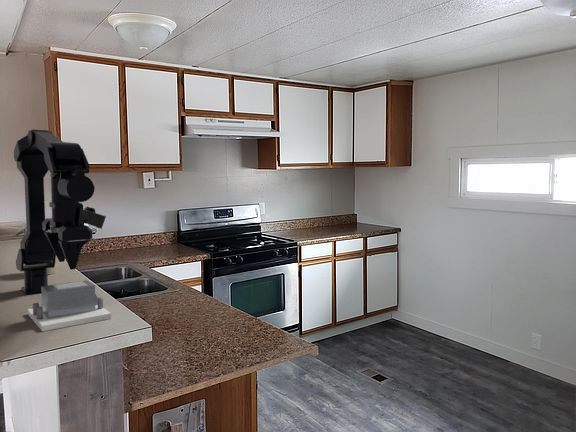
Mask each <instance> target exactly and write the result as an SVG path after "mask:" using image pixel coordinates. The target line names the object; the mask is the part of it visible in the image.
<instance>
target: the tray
mask: <svg viewBox="0 0 576 432" xmlns="http://www.w3.org/2000/svg"><path fill="white" fill-rule="evenodd" d="M27 315H28V316H29V318H30V319H31V320H32V321H33V322H34V323H35V325H36V326H37V327H38V328H39V329H40V331H42V332H48V331H51V330H52V331H53V330H57V329H58V330H59V329H63V328H68V327H73V326H79V325H83V324H89V323H95V322H100V321H104V320H111V319H112V313H111V312H110V311H109V310H107V309H106V308H105V307H104V297H103V296H101V297H99V294H98V293H95V311H91V312H85V313H79V314H73V315H68V316H62V317H56V318H50V319H48V318H47V316H46V315H45V314H44V313H43V307H42V306H40V304H39V302H33V303H32V308H27Z"/></svg>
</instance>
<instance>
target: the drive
mask: <svg viewBox="0 0 576 432" xmlns="http://www.w3.org/2000/svg"><path fill="white" fill-rule="evenodd" d="M41 291H42V292H41V307H43V313H44V314H45V315H46V316H47V318H48V319H50V318H56V317H62V316H68V315H73V314H79V313H85V312H91V311H95V294H96V285H94V284H93V283H92V282H90V281H89V280H78V281H70V282H63V283H56V284H48V285H47V286H41Z"/></svg>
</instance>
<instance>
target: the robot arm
mask: <svg viewBox="0 0 576 432" xmlns="http://www.w3.org/2000/svg"><path fill="white" fill-rule="evenodd" d="M13 159H14V161H15V162H16V168H17V169H18V171H19V173H20V174H21V175H22V177H23V179H24V196H25V197H24V199H25V200H24V201H25V221H26V222H25V223H26V224H25V225H26V232H25V233H24V236H23V237H22V238H21V240H20V243H19V245H20V248H19V249H18V251H17V256H16V258H15V266H16V269H17V270H18V271H19V272H21V273H22V272H23V282H24V285H23V286H21V287H20V289H21V291H22V292H23V293H24V294H25V295H30V294H36V293H42V291H41V286H47V285H49V281H48V279H49V278H48V272H47V268H54V266H55V267H56V265H55V260H56V261H57V260H58V262H60V263H62V262H63V263H64V262H65V261H66V263H67V265H68V269H69V270H76V269H77V265H78V262H79V258H80V254H81V252H82V251H81V250H82V249H83V246H85V245H86V244H87V243H89V242H90V241H91V240H93V229H92V228H90V227H89V226H88V225H90V226H92V227H96V228H97V229H103V226H104V222H106V221H105V220H106V218H107V216H106V215H103V214H100V213H97V212H96V208H93V207H92V206H91V207H90V206H86V207H84V204H83V202H86V201H88V200H90V199H91V198H92V197H93V196H94V194H95V185H94V182H93V181H92V179H91V178H90V177H88V176H87V175H86V174H89V173H90V164H89V160H88V159H87V156H86V153H85V152H84V149H83V148H82V146H81V145H80V143H77V142H66V141H63V140H61V138H59V137H58V136H55V134H53V133H52V131H51V130H48V129H29V130H28V132H27V134H26V135H24V136H23V137H22V138H20V139H19V140H17V141H16V143H15V146H14V150H13ZM48 172H49V173H50V188H51V189H50V193H51V197H50V199H51V201H49V207H50V208H51V218H50V217H48V218H46V205H45V201H46V200H45V177H46V174H47V173H48ZM85 224H86V225H85Z"/></svg>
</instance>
